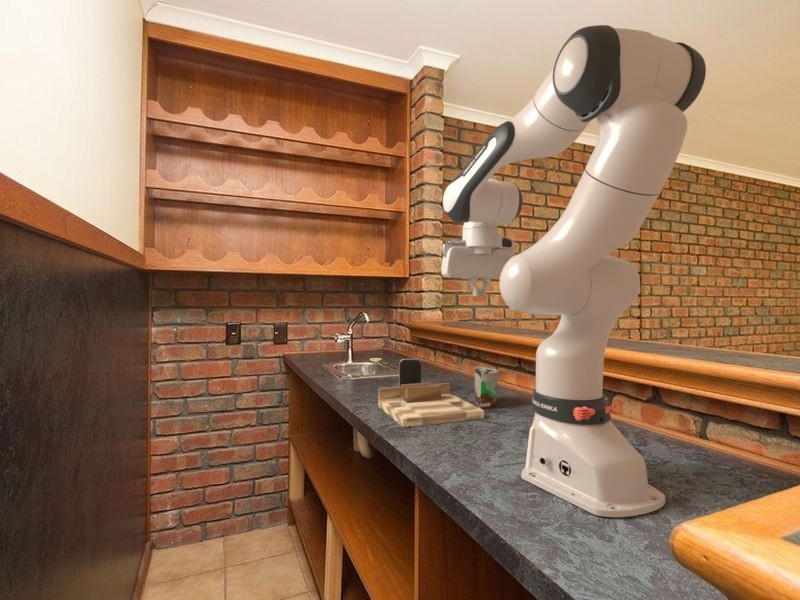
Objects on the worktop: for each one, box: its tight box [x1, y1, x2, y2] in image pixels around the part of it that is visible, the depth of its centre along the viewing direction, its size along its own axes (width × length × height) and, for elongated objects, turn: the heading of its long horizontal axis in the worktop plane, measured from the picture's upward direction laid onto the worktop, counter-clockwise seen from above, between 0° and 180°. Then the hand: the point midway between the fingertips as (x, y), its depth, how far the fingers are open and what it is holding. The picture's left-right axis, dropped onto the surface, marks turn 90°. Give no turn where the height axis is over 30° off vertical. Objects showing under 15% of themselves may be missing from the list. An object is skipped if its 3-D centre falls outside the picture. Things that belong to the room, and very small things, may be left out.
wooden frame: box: [377, 382, 485, 428], centre depth 113 cm, size 20×22×5 cm
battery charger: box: [398, 357, 422, 387], centre depth 131 cm, size 7×4×11 cm, turn 92°
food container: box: [473, 366, 500, 410], centre depth 120 cm, size 12×6×10 cm, turn 179°
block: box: [401, 381, 441, 403], centre depth 118 cm, size 5×10×4 cm, turn 110°
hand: (479, 296), depth 107 cm, fingers closed
